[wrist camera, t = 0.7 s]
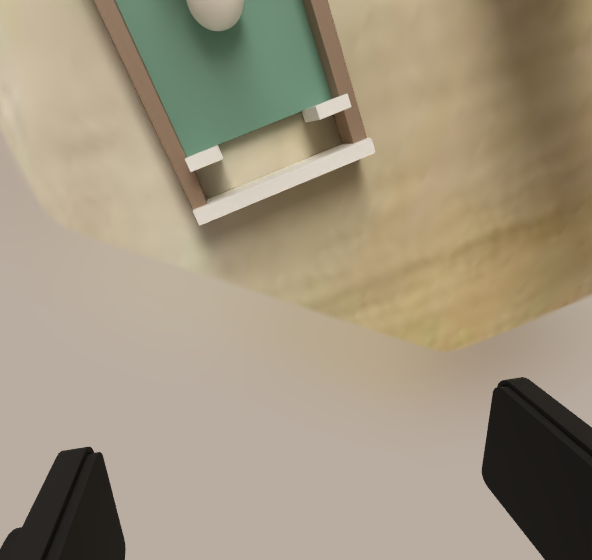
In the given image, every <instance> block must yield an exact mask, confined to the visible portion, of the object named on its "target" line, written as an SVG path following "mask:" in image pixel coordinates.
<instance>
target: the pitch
mask: <svg viewBox="0 0 592 560" xmlns="http://www.w3.org/2000/svg"><path fill="white" fill-rule="evenodd" d="M94 2H95V4H96V6H97V8H98V10H99V12H100V15H101V17H102V19H103V21H104V23H105V25H106V27H107V29H108V31H109V33H110V36H111V38H112V40H113V42H114V44H115V46H116V48H117V50H118V52H119V55H120V57H121V59H122V61H123V63H124V65H125V67H126V69H127V71H128V73H129V76H130V78H131V80H132V82H133V84H134V86H135V88H136V90H137V92H138V95H139V97H140V99H141V101H142V103H143V105H144V107H145V109H146V111H147V113H148V116H149V118H150V120H151V122H152V124H153V126H154V128H155V130H156V132H157V135H158V137H159V139H160V141H161V143H162V145H163V147H164V149H165V151H166V154H167V156H168V158H169V160H170V162H171V164H172V166H173V168H174V170H175V172H176V175H177V177H178V179H179V181H180V183H181V185H182V187H183V189H184V191H185V194H186V196H187V198H188V200H189V202H190V204H191V206H192V208H193V213H194V215H195V217H196V220H197V222H198V224H199V226H200V225H202V224H205V223H207V222H210V221H212V220H215V219H217V218H219V217H222V216H224V215H227V214H229V213H231V212H234V211H236V210H239V209H241V208H243V207H246V206H248V205H251V204H253V203H255V202H258V201H260V200H263V199H265V198H267V197H270V196H272V195H275V194H277V193H280V192H282V191H284V190H287V189H289V188H292V187H294V186H296V185H299V184H301V183H304V182H306V181H308V180H311V179H313V178H316V177H318V176H320V175H323V174H325V173H328V172H330V171H332V170H335V169H337V168H340V167H342V166H344V165H347V164H349V163H352V162H354V161H357V160H359V159H361V158H364V157H366V156H369V155H371V154H373V153H375V149H374V146H373V142H372V139H371V138H367V137H366V133H365V130H364V126H363V123H362V119H361V116H360V112H359V109H358V105H357V102H356V98H355V95H354V91H353V88H352V84H351V81H350V77H349V74H348V70H347V67H346V63H345V60H344V56H343V53H342V49H341V46H340V42H339V39H338V35H337V32H336V28H335V25H334V21H333V18H332V14H331V11H330V7H329V4H328V1H327V0H244V7H243V11H242V14H241V16H240V18H239V20H238V21H237V23H236V24H235V25H234V26H232V27H231V28H229V29H227V30H224V31H212V30H209V29H207V28H205V27H203V26H202V25H200V24H199V23H198V22H197V21H196V20H195V18H194V17H193V16H192V14H191V12H190V10H189V8H188V5H187V1H186V0H94ZM298 112H302V114H303V117H304V120H305V123H307V122H312V121H317V120H321V119H323V118H326V117H328V116H330V115H333V114H334V118H335V121H336V124H337V127H338V130H339V134H340V137H341V140H342V143H343V144H340V145H338V146H336V147H333V148H331V149H328V150H326V151H323V152H321V153H319V154H316V155H314V156H311V157H309V158H306V159H304V160H302V161H299V162H297V163H294V164H292V165H289V166H287V167H285V168H282V169H280V170H277V171H275V172H272V173H270V174H267V175H265V176H263V177H260V178H258V179H255V180H253V181H250V182H248V183H246V184H243V185H241V186H238V187H236V188H233V189H231V190H229V191H226V192H224V193H221V194H219V195H216V196H214V197H212V198H209V199H207V198H206V195H205V193H204V191H203V189H202V187H201V184H200V182H199V180H198V178H197V176H196V173H195V170H197V169H200V168H202V167H205V166H207V165H210V164H212V163H215V162H217V161H220V160H222V159H223V156H222V154H221V152H220V149H219V147H218V145H219V144H221V143H224V142H226V141H229V140H231V139H234V138H236V137H239V136H241V135H244V134H246V133H249V132H251V131H254V130H256V129H259V128H261V127H264V126H266V125H269V124H271V123H274V122H276V121H279V120H281V119H283V118H286V117H288V116H291V115H293V114H296V113H298Z"/></svg>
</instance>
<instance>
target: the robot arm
mask: <svg viewBox="0 0 592 560" xmlns="http://www.w3.org/2000/svg"><path fill="white" fill-rule="evenodd" d="M482 476H483V479H484V481H485V483H486V485H487V486H488V488H489V489H490V490H491V492H492V493H493V494H494V496H495V497H496V498H497V499H498V500H499V502H500V503H501V504H502V506H503V507H504V508H505V509H506V511H507V512H508V513H509V515H510V516H511V517H512V518H513V520H514V521H515V522H516V523H517V525H518V526H519V527H520V529H521V530H522V531H523V532H524V534H525V535H526V536H527V537H528V538H529V540H530V541H531V542H532V544H533V545H534V546H535V548H536V549H537V550H538V551H539V553H540V554H541V555H542V556H543V558H544V559H545V560H592V427H590V426H589V425H588V424H586V423H585V422H584V421H582V420H581V419H580V418H578V417H577V416H576V415H575V414H573V413H572V412H571V411H569V410H568V409H567V408H565V407H564V406H563V405H562V404H560V403H559V402H558V401H556V400H555V399H554V398H552V397H551V396H550V395H548V394H547V393H546V392H545V391H543V390H542V389H541V388H539V387H538V386H537V385H535V384H534V383H533V382H531V381H530V380H529V379H527V378H523V377H521V378H515V379H509V380H503V381H501V382H500V383H499V384H498V387H497V388H495V389H494V391H493V396H492V403H491V410H490V417H489V423H488V430H487V437H486V444H485V451H484V458H483V466H482ZM0 560H125V541H124V536H123V533H122V529H121V525H120V521H119V517H118V513H117V509H116V505H115V501H114V498H113V493H112V490H111V486H110V482H109V478H108V474H107V470H106V466H105V463H104V459H103V455H102V453H100V452H98V453H94V451H93V449H92V448H91V447H84V448H78V449H72V450H66V451H61V452H60V453H59V454H58V456H57V457H56V459H55V461H54V464H53V465H52V467H51V469H50V471H49V473H48V476H47V478H46V480H45V482H44V484H43V486H42V488H41V490H40V492H39V494H38V496H37V498H36V500H35V502H34V504H33V506H32V508H31V510H30V512H29V514H28V516H27V518H26V520H25V523H24V525H23V526H22V527H21V528H16V529H14V530H13V531H12V532H11V533H10V534H9V535H8V537H7V538H6V540H5V541H4V543H3V545H2V547H1V549H0Z"/></svg>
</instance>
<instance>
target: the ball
mask: <svg viewBox="0 0 592 560" xmlns="http://www.w3.org/2000/svg"><path fill="white" fill-rule="evenodd" d="M186 1H187V5H188V8H189V10H190V12H191V14H192V16H193V17H194V18H195V20H196V21H197V22H198V23H199V24H200V25H202V26H203V27H205V28H207V29H209V30H212V31H224V30H227V29H229V28H231V27H232V26H234V25H235V24H236V23H237V21H238V20H239V18H240V16H241V14H242V11H243V7H244V0H186Z"/></svg>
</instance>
